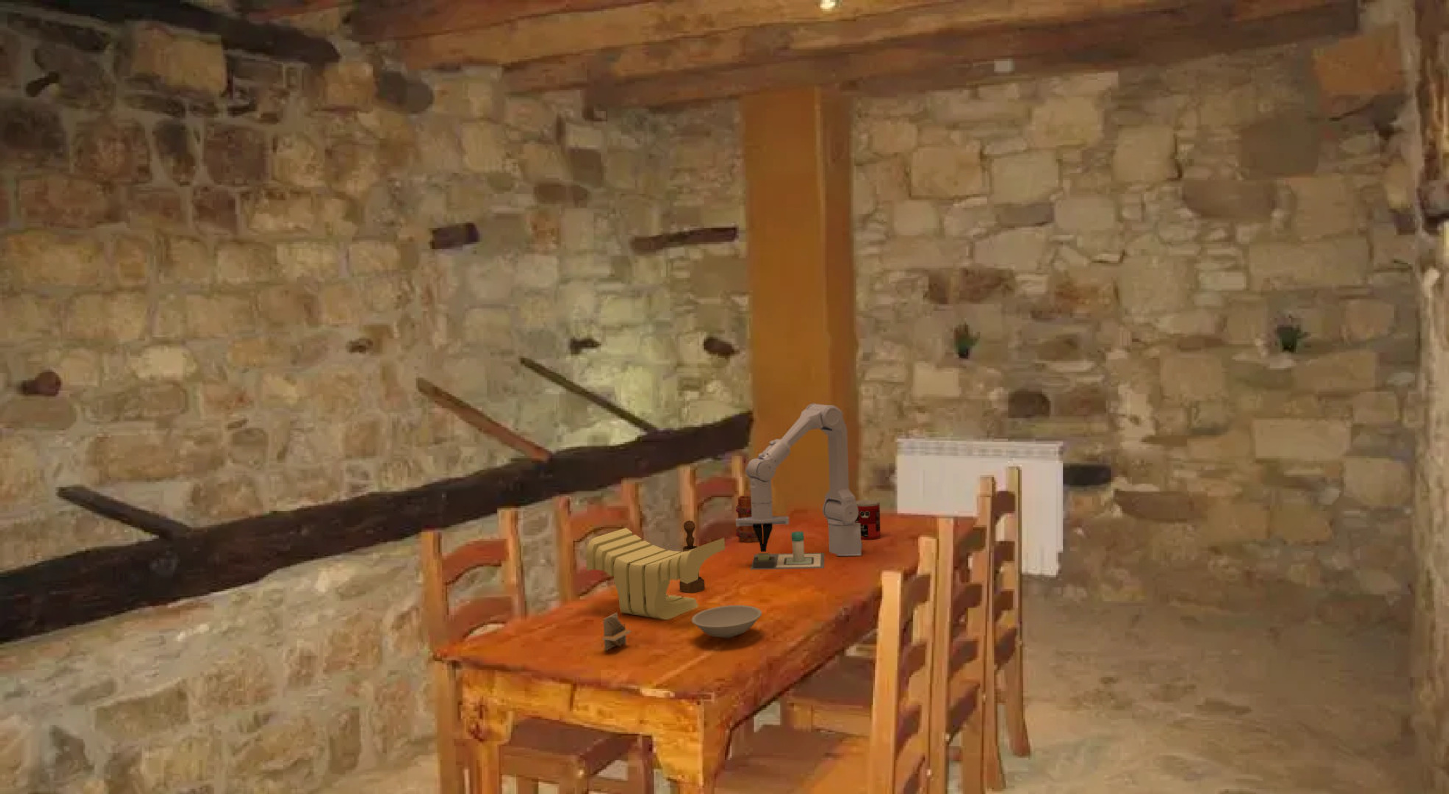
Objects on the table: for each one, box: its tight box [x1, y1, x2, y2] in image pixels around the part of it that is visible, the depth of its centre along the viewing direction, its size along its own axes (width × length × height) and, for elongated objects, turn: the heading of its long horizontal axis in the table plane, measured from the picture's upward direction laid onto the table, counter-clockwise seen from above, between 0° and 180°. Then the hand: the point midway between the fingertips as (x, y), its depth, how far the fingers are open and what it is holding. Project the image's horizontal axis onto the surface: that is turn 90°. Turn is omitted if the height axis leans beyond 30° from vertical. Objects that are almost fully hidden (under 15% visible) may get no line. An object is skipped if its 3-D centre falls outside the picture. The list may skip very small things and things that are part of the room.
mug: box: [735, 489, 763, 544], centre depth 352 cm, size 15×8×15 cm, turn 179°
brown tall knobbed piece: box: [678, 520, 705, 594], centre depth 296 cm, size 7×6×18 cm
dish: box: [691, 604, 763, 639], centre depth 254 cm, size 18×14×5 cm
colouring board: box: [750, 552, 825, 571], centre depth 320 cm, size 20×18×3 cm
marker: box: [790, 530, 805, 562], centre depth 319 cm, size 3×3×8 cm
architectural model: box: [602, 612, 632, 652], centre depth 249 cm, size 3×7×7 cm, turn 153°
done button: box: [757, 552, 770, 561], centre depth 316 cm, size 3×3×2 cm
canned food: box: [855, 499, 881, 541], centre depth 350 cm, size 8×8×11 cm
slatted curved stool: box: [585, 527, 726, 620], centre depth 277 cm, size 30×16×18 cm, turn 56°
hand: (763, 551), depth 316 cm, fingers closed
